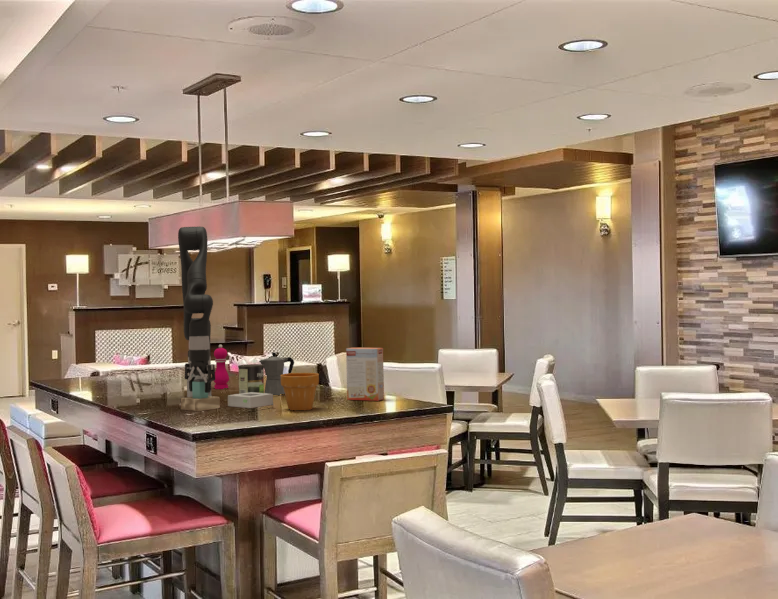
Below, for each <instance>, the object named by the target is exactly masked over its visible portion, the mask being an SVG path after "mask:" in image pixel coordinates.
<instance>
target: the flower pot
mask: <svg viewBox="0 0 778 599" xmlns="http://www.w3.org/2000/svg"><path fill="white" fill-rule="evenodd" d="M319 383H320V374H319V373H318V372H317V373H316V372H291V373H288V372H287V373H283V374H282V375H281V385H282V386H283V388H284V392H285V395H284V396H285V400H286V404H287V408H288V410H289V409H290V410H289V411H293V410H304V411H310V410H312V409H313V407H314V401H315V396H316V391H317V386H318V385H319Z"/></svg>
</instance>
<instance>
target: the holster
mask: <svg viewBox="0 0 778 599" xmlns="http://www.w3.org/2000/svg"><path fill="white" fill-rule="evenodd" d="M220 401H221V398H220V396H213V395H211V396H208V398H202V399H196V398H193V397H187V396H186V397H180V410H186V411H194V412H195V411H196V412H201V411H208V410H215V409H220V407H221V402H220Z"/></svg>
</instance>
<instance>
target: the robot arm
mask: <svg viewBox="0 0 778 599" xmlns="http://www.w3.org/2000/svg"><path fill="white" fill-rule="evenodd" d="M177 240H178V241H177V242H178V247H179V248H178V249H179V256H180V258H179V260H180V265H181V266H180V268H181V269H180V270H181V271H180V272H181V276H180V277H181V290H182V291H181V292H182V302H183V335H184V339H185V340H187V341H188V351H187V363H185V364H184V380H186V397H193V395H192V382H194V379H204V381H205V382H206V383H205V393H208V396H212V382H214V380H215V370H216V367H215V365H216V364H214V363H213V364H212V362H211V361H212V358H211V357H212V355H211V331H212V328H211V327H212V325H211V320H210V318H211V314H212V310H213V306H214V300H213V297H212V296H211V295H210V294H207V293H206V291H207V289H208V288H207V287H208V286H207V285H208V284H207V261H208V260H207V259H208V232H207V229H206V227H204V226H182V227H180V228H178V231H177ZM189 251H198V254H197V255H196V257H195V259H194V260H193V259H192V258H191V255H190V253H189ZM193 314H194V315H195V314H202V317H193Z"/></svg>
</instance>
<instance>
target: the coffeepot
mask: <svg viewBox="0 0 778 599" xmlns="http://www.w3.org/2000/svg"><path fill="white" fill-rule="evenodd" d="M276 354H277V353H276V352H274V351H273V352H272V356H270V357H267V358H264V359H260V360H258V362H259V363H260V364H262V365H264V367H263V369H264V372H265V376H266V380H265V384H264V393H267V394H273V395H280V394H285V392H284V388H283V386H282V385H281V375H282V374H284V367H285V363H288V362H289V367H288V370H287V373H293V372H292V371H293V368H294V365H295V360H294V359H293V358H292V357H291V356H288V357H279V356H276Z"/></svg>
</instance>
